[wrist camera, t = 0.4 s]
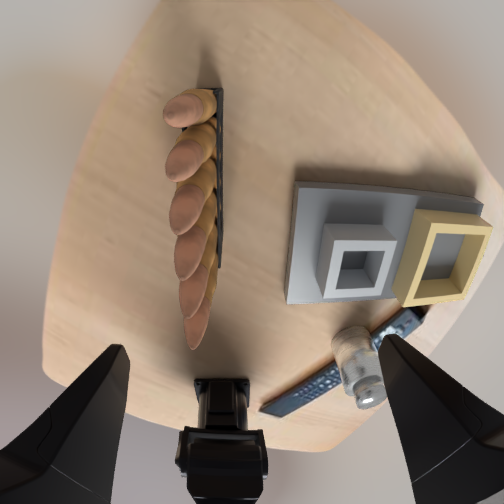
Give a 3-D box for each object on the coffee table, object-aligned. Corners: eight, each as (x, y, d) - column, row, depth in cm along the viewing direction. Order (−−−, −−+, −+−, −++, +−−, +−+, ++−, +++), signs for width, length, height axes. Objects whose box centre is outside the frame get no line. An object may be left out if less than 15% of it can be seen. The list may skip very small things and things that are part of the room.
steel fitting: (362, 350, 31) (384, 407, 24) (327, 354, 31) (344, 415, 24) (373, 324, 29) (401, 383, 22) (335, 327, 28) (357, 392, 21)
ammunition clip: (195, 88, 17) (136, 85, 6) (223, 88, 17) (204, 79, 6) (198, 233, 22) (173, 362, 12) (223, 233, 22) (216, 363, 12)
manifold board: (444, 284, 26) (463, 307, 23) (284, 293, 25) (291, 325, 22) (474, 197, 21) (500, 216, 18) (294, 180, 20) (307, 201, 17)
